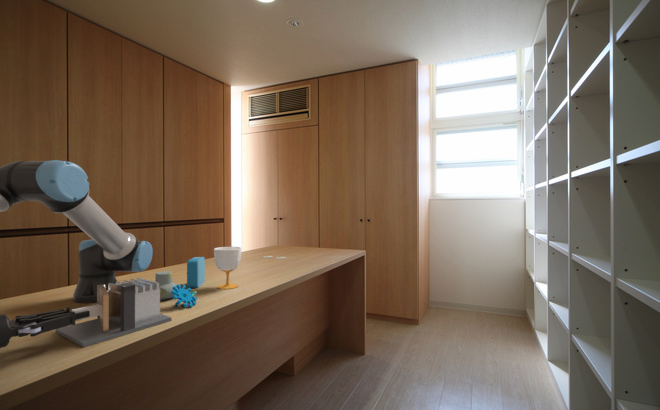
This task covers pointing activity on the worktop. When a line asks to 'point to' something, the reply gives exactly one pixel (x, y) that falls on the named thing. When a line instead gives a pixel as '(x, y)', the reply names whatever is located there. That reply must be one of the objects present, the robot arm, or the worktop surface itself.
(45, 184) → the robot arm
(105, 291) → the bar
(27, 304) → the worktop surface
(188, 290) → the gear
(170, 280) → the air freshener
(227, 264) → the cup
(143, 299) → the heat sink
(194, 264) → the data package
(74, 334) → the cooler board
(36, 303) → the worktop surface
